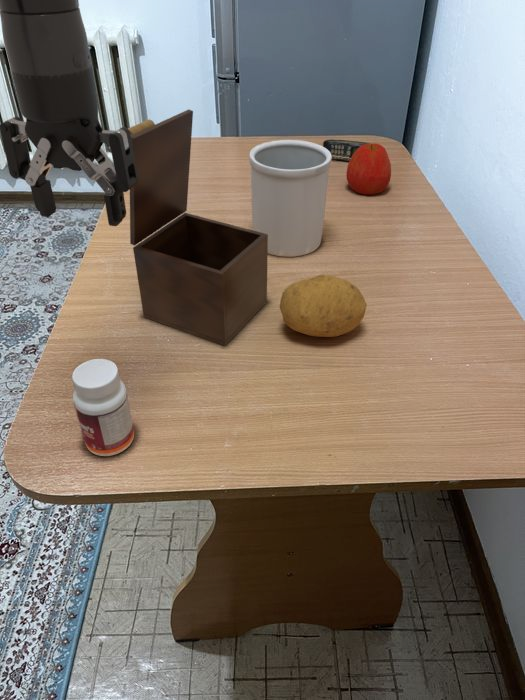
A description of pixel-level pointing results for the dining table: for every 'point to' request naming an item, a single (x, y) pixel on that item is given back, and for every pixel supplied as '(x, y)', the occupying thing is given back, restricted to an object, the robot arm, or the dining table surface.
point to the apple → (369, 169)
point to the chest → (203, 276)
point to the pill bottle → (102, 407)
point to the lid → (159, 173)
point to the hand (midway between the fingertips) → (82, 218)
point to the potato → (322, 306)
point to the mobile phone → (342, 148)
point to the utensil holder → (289, 194)
